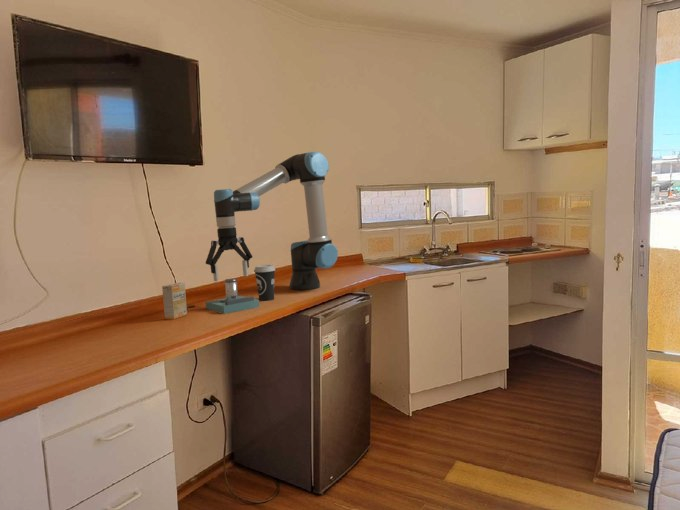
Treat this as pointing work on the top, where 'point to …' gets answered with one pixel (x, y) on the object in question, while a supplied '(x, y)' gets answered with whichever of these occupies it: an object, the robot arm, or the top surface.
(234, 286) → the metal cylinder
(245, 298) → the jig
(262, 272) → the coffee cup
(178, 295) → the supplement box
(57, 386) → the top surface
